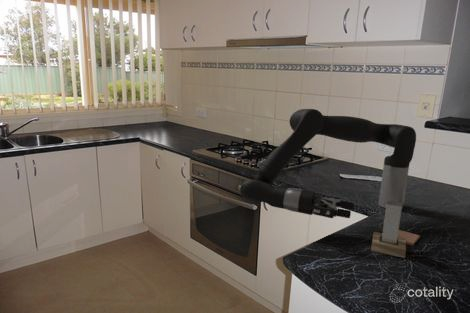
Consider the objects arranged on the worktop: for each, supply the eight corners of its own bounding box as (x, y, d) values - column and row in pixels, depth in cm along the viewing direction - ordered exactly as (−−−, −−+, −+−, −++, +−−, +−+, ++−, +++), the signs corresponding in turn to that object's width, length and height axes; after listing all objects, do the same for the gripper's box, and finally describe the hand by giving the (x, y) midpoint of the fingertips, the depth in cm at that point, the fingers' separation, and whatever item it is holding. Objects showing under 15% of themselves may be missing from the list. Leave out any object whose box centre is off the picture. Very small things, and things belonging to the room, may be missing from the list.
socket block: (372, 239, 112) (373, 231, 111) (404, 245, 108) (405, 238, 108) (370, 250, 104) (371, 242, 103) (404, 258, 100) (406, 249, 100)
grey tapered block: (381, 244, 109) (386, 200, 106) (395, 247, 107) (401, 202, 104) (380, 249, 105) (386, 204, 102) (395, 252, 103) (401, 206, 101)
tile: (393, 230, 120) (393, 228, 119) (419, 237, 114) (419, 235, 114) (385, 237, 113) (386, 235, 113) (412, 245, 108) (413, 243, 108)
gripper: (295, 195, 108) (350, 205, 101) (306, 184, 120) (356, 192, 114) (293, 218, 109) (347, 229, 103) (304, 205, 122) (353, 214, 115)
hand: (352, 210), depth 108 cm, fingers open, 8 cm apart
